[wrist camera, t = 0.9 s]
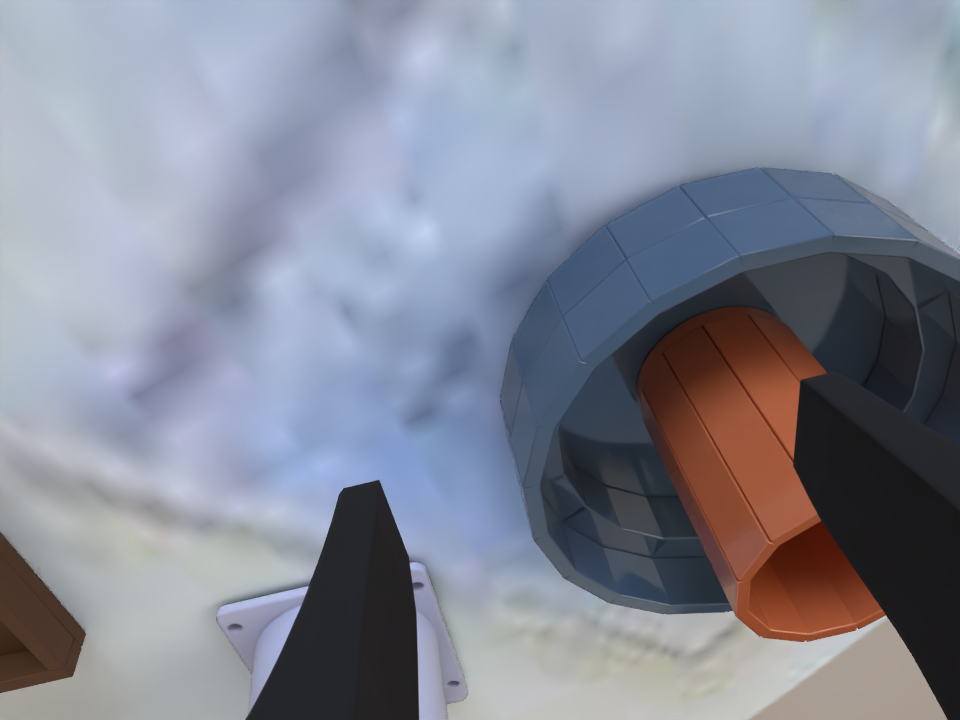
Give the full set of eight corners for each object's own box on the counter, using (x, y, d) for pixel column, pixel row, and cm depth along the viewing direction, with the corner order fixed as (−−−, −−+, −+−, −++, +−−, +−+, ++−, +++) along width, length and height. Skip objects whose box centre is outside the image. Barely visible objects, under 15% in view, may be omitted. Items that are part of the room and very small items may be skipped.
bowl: (885, 466, 30) (959, 559, 26) (530, 547, 29) (556, 652, 26) (959, 111, 21) (1085, 177, 18) (462, 223, 21) (486, 312, 17)
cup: (789, 416, 26) (929, 613, 20) (639, 450, 26) (733, 659, 20) (801, 288, 23) (973, 474, 17) (631, 326, 23) (739, 528, 17)
